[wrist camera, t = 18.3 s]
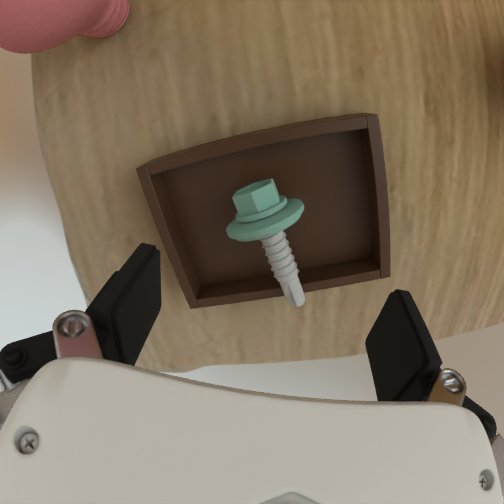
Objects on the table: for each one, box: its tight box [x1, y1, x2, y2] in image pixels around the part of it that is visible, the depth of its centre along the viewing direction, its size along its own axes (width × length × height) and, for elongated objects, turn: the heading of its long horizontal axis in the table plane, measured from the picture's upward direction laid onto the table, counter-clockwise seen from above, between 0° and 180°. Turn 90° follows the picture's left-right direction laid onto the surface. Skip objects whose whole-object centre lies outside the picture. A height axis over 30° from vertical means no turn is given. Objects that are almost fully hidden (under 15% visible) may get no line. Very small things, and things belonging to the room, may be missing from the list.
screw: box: [226, 178, 305, 307], centre depth 19 cm, size 9×5×5 cm, turn 22°
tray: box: [136, 113, 390, 309], centre depth 20 cm, size 16×12×3 cm
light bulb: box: [0, 0, 129, 53], centre depth 9 cm, size 7×7×12 cm
